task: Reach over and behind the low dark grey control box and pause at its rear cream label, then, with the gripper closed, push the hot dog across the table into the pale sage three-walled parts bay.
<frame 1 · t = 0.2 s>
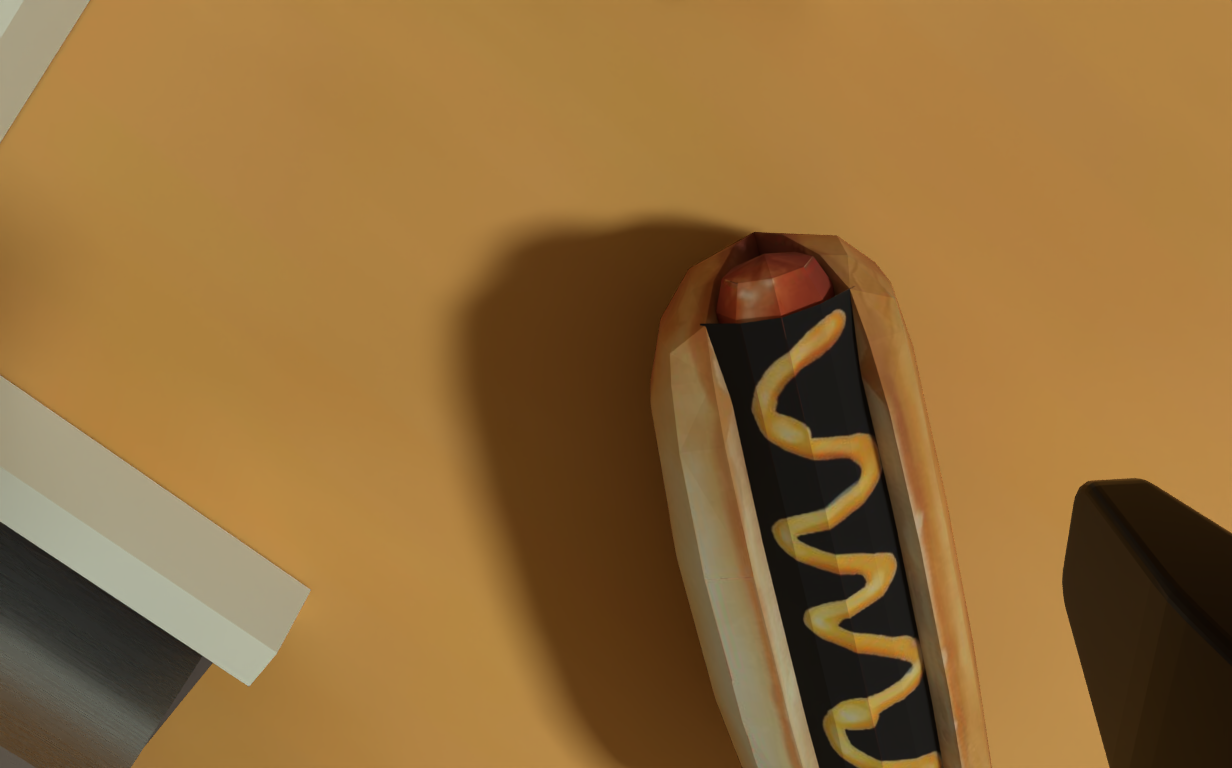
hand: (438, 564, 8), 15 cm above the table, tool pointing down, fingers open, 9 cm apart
parts bay: (331, 152, 22), on the table
hot dog: (800, 513, 25), on the table
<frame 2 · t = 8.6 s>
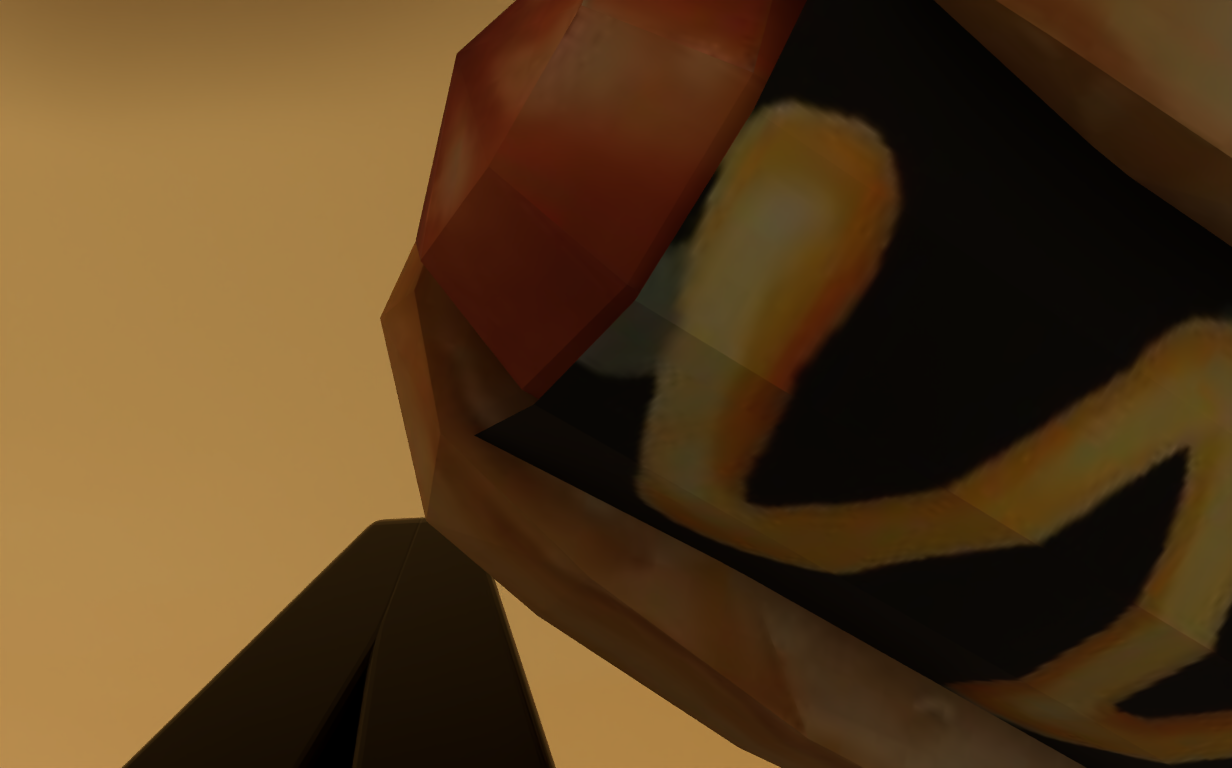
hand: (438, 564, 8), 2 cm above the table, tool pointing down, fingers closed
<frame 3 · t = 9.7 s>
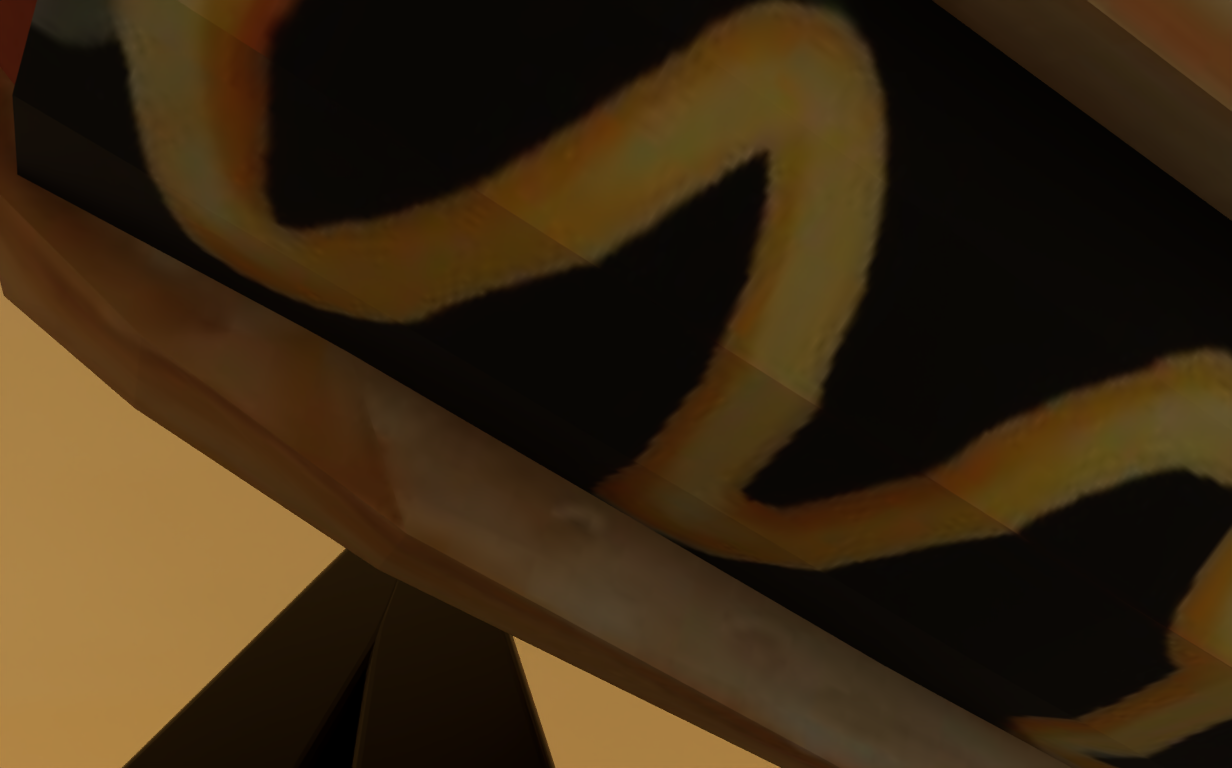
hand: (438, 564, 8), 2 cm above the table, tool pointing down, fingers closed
hot dog: (1098, 214, 9), on the table, touching gripper
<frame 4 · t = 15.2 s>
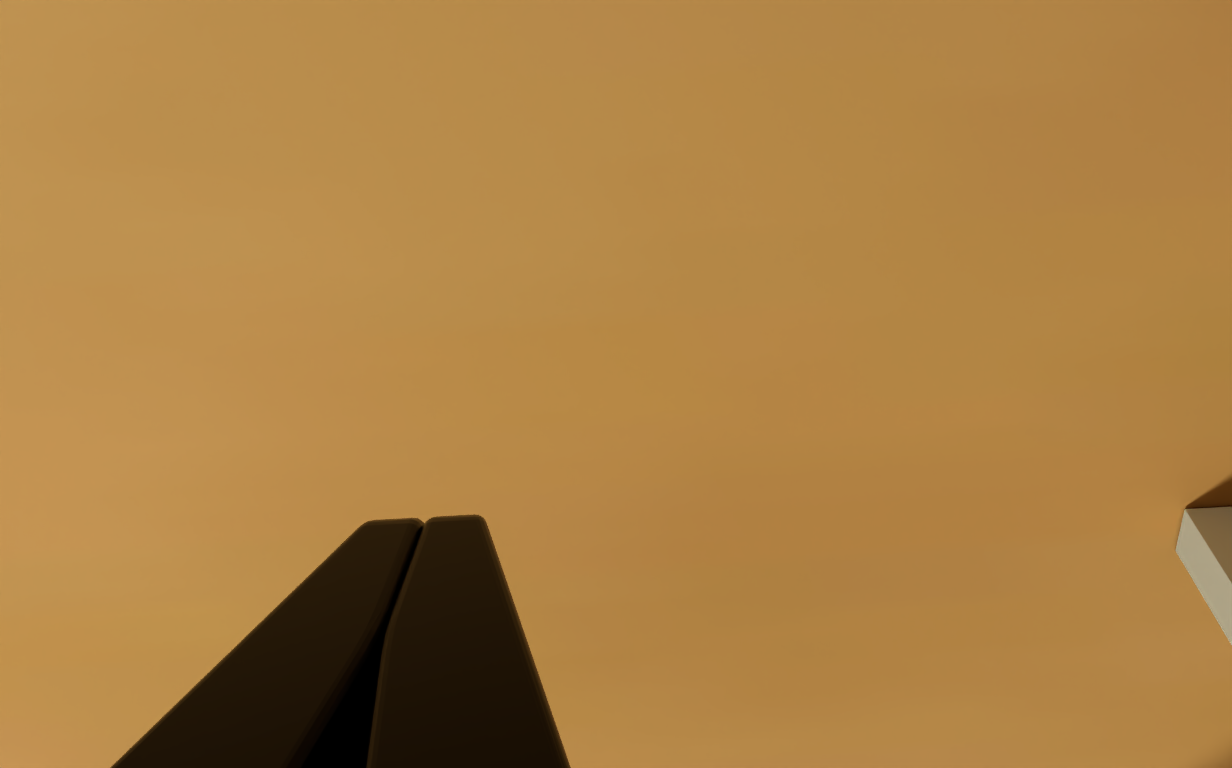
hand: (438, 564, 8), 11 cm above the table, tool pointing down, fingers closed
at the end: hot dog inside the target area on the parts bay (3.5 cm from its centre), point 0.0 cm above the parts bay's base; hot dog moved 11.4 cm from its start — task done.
